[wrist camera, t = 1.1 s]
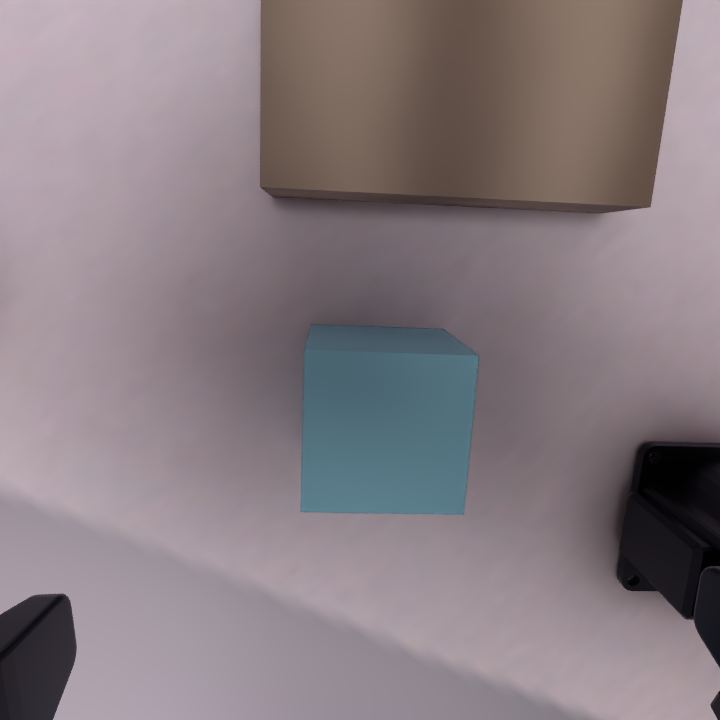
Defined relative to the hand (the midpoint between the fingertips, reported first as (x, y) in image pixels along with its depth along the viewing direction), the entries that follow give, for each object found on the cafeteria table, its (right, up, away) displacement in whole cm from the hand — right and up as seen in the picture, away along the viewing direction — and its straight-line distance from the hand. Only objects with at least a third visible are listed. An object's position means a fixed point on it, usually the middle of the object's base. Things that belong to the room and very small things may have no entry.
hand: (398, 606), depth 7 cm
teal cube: (0, +2, +13) cm, 13 cm away
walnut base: (+3, +15, +10) cm, 18 cm away
